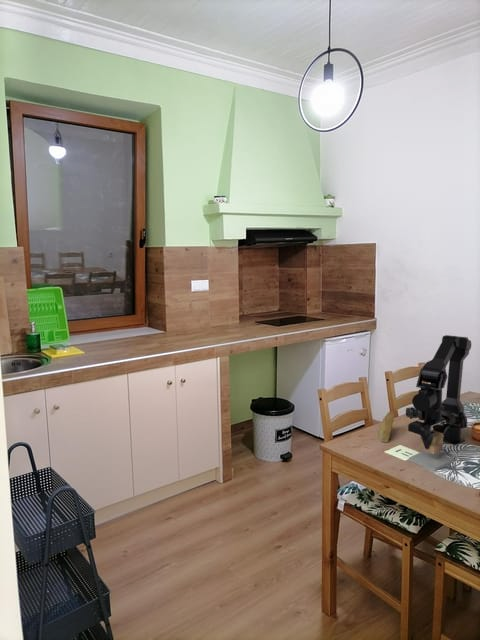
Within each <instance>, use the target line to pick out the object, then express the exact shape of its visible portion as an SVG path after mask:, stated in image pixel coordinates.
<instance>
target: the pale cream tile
mask: <svg viewBox="0 0 480 640" xmlns="http://www.w3.org/2000/svg"><path fill="white" fill-rule="evenodd" d="M420 452H421V451H417V450H415V449H411V448H410V447H407V446H405V445H401V444H399V445H395V446H394V447H391V448H389V449H387V450H384V453H386V454H388V455H390V456H393V457H396V458H398V459H399V460H402V461H405V462H406V461H409V457H411V456H414V455H416V454H418V453H420Z"/></svg>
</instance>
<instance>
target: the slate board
mask: <svg viewBox="0 0 480 640" xmlns="http://www.w3.org/2000/svg"><path fill="white" fill-rule="evenodd" d="M419 452H420V453H418V454H416V455H414V456H411V457H409V459H408V461H409V462H411V463H414V464H416V465H419V466H421V467H424V468H425V469H429V470H431V471H432V472H436V471H439V470H441V469H442V468H445V467H446V466H449V465H450V464H452V463H455V458H454V457H450V456H448V455H446V454H442V453H440V452H438V453H436V454H432V453H429V452H426V451H424V450H421V451H419Z"/></svg>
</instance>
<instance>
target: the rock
mask: <svg viewBox="0 0 480 640" xmlns="http://www.w3.org/2000/svg"><path fill="white" fill-rule="evenodd" d="M395 415H396V414H395V412H393V411H388V412H387V413H386V415H385V416H384V417H383V419H382V420H381V422H380V424H379V430H378V437H379V438H380V439H381V440H380V441H381V442H382V443H383V442H384V443H389V441H390V438H391V437H390V436H391V432H392V429H393V423H394V419H395Z"/></svg>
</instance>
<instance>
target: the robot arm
mask: <svg viewBox="0 0 480 640" xmlns="http://www.w3.org/2000/svg"><path fill="white" fill-rule="evenodd" d="M471 348H472V341H471V339H469V337H467V336H457V335H450V334H448V335H447V334H446V335H443V336H442V338H441V342H440V344H439V347H438V349H437V351H436V352H435V354H434V356H433V358H432V359H431V360H428V361H427V362H425V363H424V365H423V366H422V368H420V371H419V374H418V378H417V383H416V388H419V389H418V393H417V394H415V395H414V396H413V398H412V399H411V403H412V406H410V407H406V408H405V416H406V417H407V418H409V419H418V420H414V421H412V422H410V423H408V425H407V431H408V432H411V433H413V434H415V435H416V434H417V435H419V436H420V439H421V438H422V441H423V443H424V446H425V448H426V449H429V447H430V444H431V441H432V438H433V435H434V432H432V431H431V430H434V431H437V432H440V433H443V442H446V443H449V444H452V445H455V446H456V445H459V444H460V443H463V442H465V441H466V438H462V430H463V429H466V428H467V427H468V418H467V415H466V414H465V412H464V411H465V406H464V405H463V403H462V401H461V390H462V377H463V369H464V367H463V366H464V361H465V359H467V357H468V356H469V354H470V350H472V349H471ZM447 365H448V372H447V369H446V368H447ZM447 373H448V374H447ZM446 383H447V384H446ZM445 385H446V394H445V396H446V397H445V399H444V400H443V389H444V388H445ZM422 421H423V422H422ZM432 428H433V429H432Z"/></svg>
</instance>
